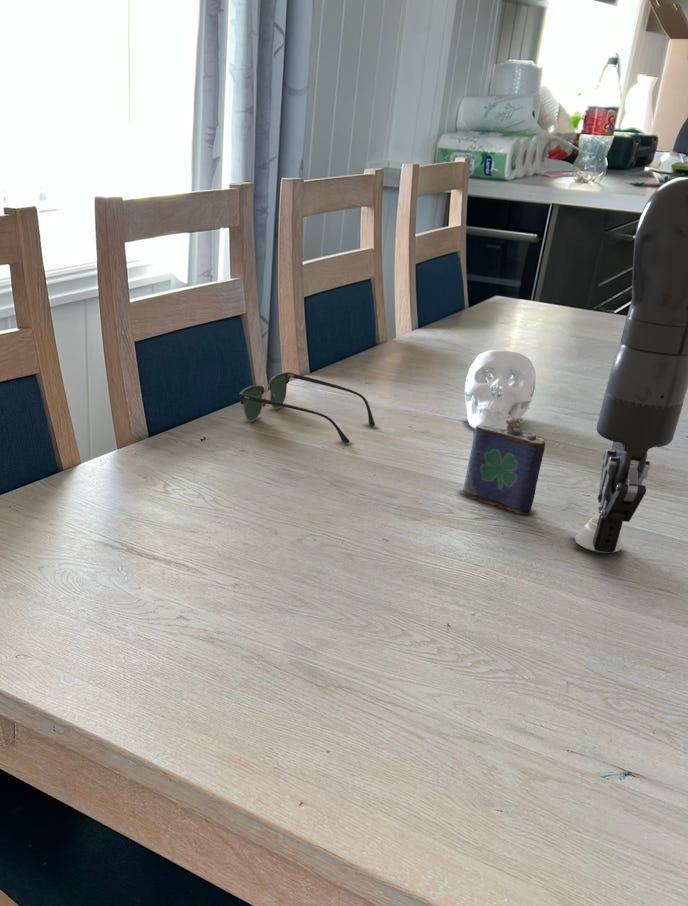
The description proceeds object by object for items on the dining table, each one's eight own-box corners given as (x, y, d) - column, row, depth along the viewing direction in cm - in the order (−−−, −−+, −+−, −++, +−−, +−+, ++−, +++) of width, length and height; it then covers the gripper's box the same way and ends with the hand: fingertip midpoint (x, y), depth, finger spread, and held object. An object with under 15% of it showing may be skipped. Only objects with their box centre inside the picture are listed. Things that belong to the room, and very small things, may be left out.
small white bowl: (623, 558, 108) (616, 540, 113) (630, 533, 107) (623, 517, 111) (577, 552, 109) (571, 535, 113) (583, 527, 108) (577, 511, 112)
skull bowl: (453, 421, 146) (470, 343, 146) (454, 448, 159) (470, 375, 160) (525, 432, 143) (542, 351, 143) (520, 458, 156) (536, 384, 157)
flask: (458, 493, 123) (475, 410, 118) (470, 488, 125) (487, 406, 120) (524, 516, 118) (545, 430, 113) (535, 510, 120) (556, 425, 114)
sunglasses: (340, 449, 136) (344, 414, 134) (234, 425, 143) (236, 391, 140) (382, 422, 149) (387, 389, 146) (283, 401, 156) (286, 370, 153)
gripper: (697, 413, 93) (648, 578, 101) (671, 381, 104) (629, 532, 112) (615, 404, 94) (573, 568, 102) (598, 374, 105) (562, 523, 114)
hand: (602, 549), depth 107 cm, fingers closed
